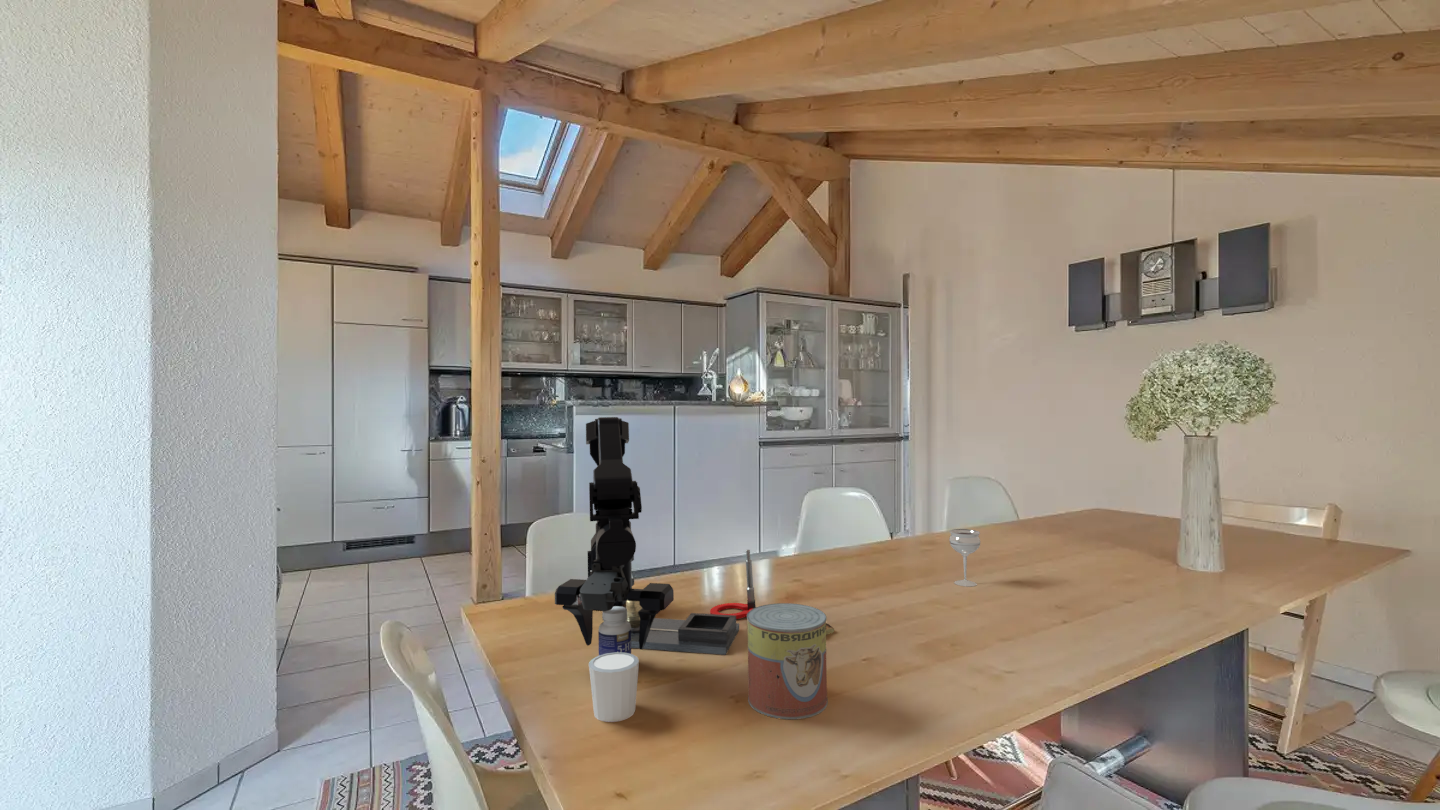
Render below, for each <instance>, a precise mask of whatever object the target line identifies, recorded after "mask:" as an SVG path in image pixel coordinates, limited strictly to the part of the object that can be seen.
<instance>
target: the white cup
mask: <svg viewBox="0 0 1440 810" xmlns="http://www.w3.org/2000/svg"><path fill="white" fill-rule="evenodd" d="M639 663H640V660H639V657H638V656H636V655H635V654H633V653H631V654H629V653H624V652H614V653H606V654H603V655H599V654H598V655H596V656H595V657H594V658H591V660H590V661H589V662H588V669H589V671H588V672H589V678H590V680H589V681H590V689H591V698H592V709H593V714H594V715H593V716H594V718H595V719H597V720H598V721H601V722H606V723H615V722H621V721H624V720H627V719H629V718H630V717H632V716H633V715H634V714H635V711H636V703H637V691H638V680H639V679H638V678H639V665H640V664H639Z"/></svg>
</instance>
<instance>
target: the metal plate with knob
mask: <svg viewBox="0 0 1440 810" xmlns="http://www.w3.org/2000/svg"><path fill="white" fill-rule="evenodd" d="M625 608H626V609H627V619H626V621H628V622H629V623H630V625H631V649H640V648H639V630H640V617H639V614H638V611H640V610H641V609H642V607H641V606H640V605H639V601H626V603H625ZM739 631H740V623H738V622H737V619H736V616H733V615H717V614H710V613H696V612H691V613H690V614H689V615H688V616H687V617H686V619H676V618H675V619H674V618H658V617H657V618H656V617H655V618H654V620H653V623H652V625H651V628H650V631H649V634H648V637H647V640H646V643H645V646H644V648H643V649H642V650H653V651H654V650H655V651H656V650H657V651H669V652H681V653H695V654H696V653H697V654H708V655H709V654H710V655H721V656H723V655H724V656H726V655H727V653H728V651H729V649H730V648H731V646H732V644H733V642H734V640H735V639H736V637H737V635H738V633H739Z"/></svg>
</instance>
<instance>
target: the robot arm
mask: <svg viewBox="0 0 1440 810" xmlns="http://www.w3.org/2000/svg"><path fill="white" fill-rule="evenodd" d="M629 441H630V424H629V422H627V421H624V420H623V419H622V418H620V417H618V416H606V417H602V416H601V417H600V416H599V417H598V418H595V419H594V420H592V421H590V422H586V423H585V444H586V445H589V456H590V457H591V459H592V460H593V462H594V463H595V464H596V467H595V468H594V469H593V473H592V474H593V476H592V479H593V481H592V482H589V483H588V486H589V487H588V489H589V493H588V495H589V522H596V523H595V533H594V534H593V536H592V538H591V539H590V550H587V578H586V579H580V578H577V579H574V578H570V579H568V580H567V581H565V582H563V583H561V584H560V585H558V587H557V588H556V589H555V591H554V604H555V605H556V606H557V605H559V606H562V610H563V611H568V612H569V613H571V615H573V617H574V618H575V620H576V622H577V625H578V627H579V629H580V632H581V634H582V638H583V640H584V642H585V645H586V646H587V647H588V646H590V645H591V644H592V641H593V632H594V631H593V626H594V625H593V623H594V621H593V620H594V619H593V614H594V612H593V610H597V611H601V612H602V611H609V610H611V609H612V608H613V607H614V606H620V607H624V606H625V605H626V601H639V605H640V606H641V607H642V609H641V610H640V611H638V614H639V617H640V630H639V648H638V649H639V650H644V649H643V648H644V646H645V643H646V640H647V637H648V634H649V631H650V628H651V625H652V623H653V620H654V618H656V616H657V615H658V614H659V613H660V612H661V611H662V612H663V611H664V610H666V609H667V608H668V607H669V605H671V604H672V602H674V597H675V596H674V588H673V587H672V585H671V584H670V583H661V582H659V583H657V582H649V584H647V585H646V586H645V587H643V588H633V586H634V585H635V578H634V577H632V575H633V574H632V573H633V572H632V569H633V568H632V566H633V565H632V562H633V561H635V553H636V550H637V544H636V542H637V541H636V539H635V537H634V534H633V531H632V523H631V521H630V520H639V519H640V515H639V513H642V511H643V510H642V509H643V508H642V496H641V487H640V486H639V485H638V482H637V480H633V474H632V468H630V467H629V466H627V465H626V464H625V463H624V461H623V457H624V456H625V453H626V444H629ZM594 511H595V513H594Z"/></svg>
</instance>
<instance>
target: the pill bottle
mask: <svg viewBox="0 0 1440 810" xmlns="http://www.w3.org/2000/svg"><path fill="white" fill-rule="evenodd" d="M601 612H602V616H601V617H602V618H601V619H602V621H603V622H601V623H600V624H599V627H598V656H599V655H603V654H606V653H614V652H624V653H629V654H632V648H631V625H630V623H629V622H628V621H626V619H627V609H626V606H622V607H620V606H614V607H613V608H612V609H611V610H609V611H601Z"/></svg>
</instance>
